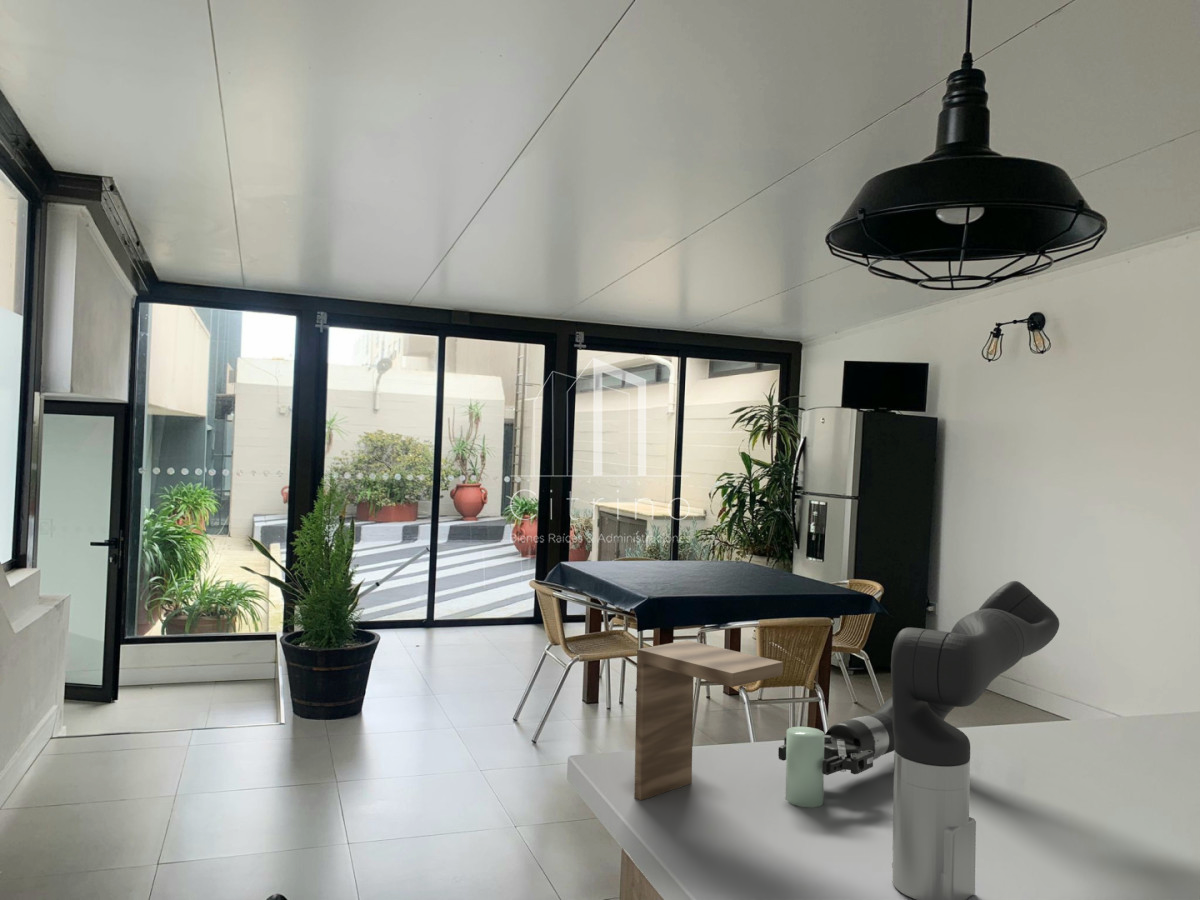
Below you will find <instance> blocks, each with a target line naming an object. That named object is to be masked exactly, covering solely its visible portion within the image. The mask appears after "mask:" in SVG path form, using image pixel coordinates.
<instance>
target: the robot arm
mask: <svg viewBox="0 0 1200 900" xmlns="http://www.w3.org/2000/svg"><path fill="white" fill-rule="evenodd" d="M1059 627H1060V620H1059V617H1058V616H1057V614H1056V613H1055V612H1054V611H1053V609H1051V608H1050V606H1048V605H1046V604H1045V602H1044V601H1042V600H1041V599H1040V598H1039V597H1038V596H1037V595H1035V594H1034V593H1033V592H1032V591H1031V589H1029V588H1028V587H1027V586H1026V585H1025V584H1023V582H1020V581H1018V580H1017V581H1016V580H1012V581H1009V582H1007V583H1005V584H1003V585H1002V586H1000V587H998V588H997V589H996V590H995V591H994V592H993V593H991V595H990V596H989V597H987V599H986V600H985V601H984V602H983V603H982V605H980V607H979V608H978V610H975V611H974V612H971V613H969V614H966V615H965V616H963V617H961V618H960V619H959V620H958V621H957V622H956V623H955V624H954V626H952V629H951V631H943V630H937V629H928V628H927V629H926V628H920V627H919V628H918V627H905V628H902V629H901V630H900V631H899V632H898V633H897V635H896V636H895V638H894V642H893V645H892V648H891V649H892V650H891V661H890V681H891V697H889V698H888V699H887V700H886V701H884V703H883V704H882V705H881V707H880V708H879V709H878V710H877V711H876V712H874V713H871V714H869V715H864V716H858V717H853V718H850V719H848V720H844V721H841V722H838V723H835V724H833V725H831V726H830V727H829V728H828V729H827V731H826V732H825V733H824V761H823V763H822V773H823V774H824V776H830V775H833V774H835V773H837V772H841V773H845V772H847V770H848V771H850V773H851V774H852V775H859V774H861V773H863V772H864V771H867V770H869V769H871V768H873V767H874V761H875V760H877V759H879V758H880V757H881V756H883V755H886V754H889V753H892V752H894V753H893V799H892V801H893V802H892V803H893V806H892V813H893V815H892V818H893V819H892V863H891V866H892V867H891V868H892V884H893V886H894V887H895V889H896V890H898V891H899V892H901V893H902V894H903V895H905V896H907V897H909V898H912V899H914V900H967V899H969V898H970V897H972V896H973V895H975V894H976V849H977V848H976V845H977V844H976V841H977V834H976V833H977V821H976V819H975V818H973V817H970V793H971V792H970V784H971V783H970V781H971V779H970V778H971V776H970V775H971V773H970V772H971V742H970V739H969V737H968V736H967V734H966V733H964V732H963V731H962V730H960V729H958V728H957V727H956V726H953V725H952V724H950V723H949V722H947V721H946V720H945V719H946V717H947V716H948V714H949V713H950V712H952V710H953V709H954V708H957V707H958V708H962V707H963V708H964V707H968V706H970V705H972V704H974V703H975V702H977V700H979V699H980V697H981V696H982V695H983V693H985V691H986V690H987V688H988V686H990V684H991V683H992V682H993V681H994V680H995V679H997V677H999V676H1000V675H1001V674H1004V673H1005V672H1007V671H1008V670H1009V669H1011V668H1012V667H1014V666H1015V665H1016V664H1017V663H1018V662H1019V661H1020V660H1022V659H1023V658H1025V657H1028V656H1031V655H1033V654H1034V653H1037V652H1040V650H1042V649H1043V648H1044V647H1046V646H1047V645H1048V644H1049V643H1051V641H1052V640H1053V639H1054V638H1055V636H1056V635H1057V633H1058V631H1059V629H1060V628H1059ZM783 737H784V738H783V741H784V743H783V745H780V746H778V754H777V755H778V760H779V761H786V739H787V735H786V736H783Z"/></svg>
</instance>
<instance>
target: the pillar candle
mask: <svg viewBox="0 0 1200 900" xmlns="http://www.w3.org/2000/svg"><path fill="white" fill-rule="evenodd" d="M824 735H825V732H824V731H822V730H821V729H819V728H815V727H810V726H792V727H789V728H787V729H786V736H787V739H786V760H785V800H787V801H788V804H791V805H792V806H796V805H797V806H796V807H799V808H800V807H802V808H817V807H820V806H823V805H824V795H825V794H824V786H825V784H824V783H825V782H824V780H825V779H824V778H825V774H823V773H822V763H823V761H824ZM787 801H786V802H787Z"/></svg>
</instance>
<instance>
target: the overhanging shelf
mask: <svg viewBox="0 0 1200 900" xmlns="http://www.w3.org/2000/svg"><path fill="white" fill-rule="evenodd" d="M783 673H784V662H783V661H780V660H776V659H771V658H767V657H763V656H758V655H754V654H749V653H746V652H741V651H736V650H733V649H728V648H724V647H720V646H719V647H718V646H714V645H710V644H706V643H701V642H697V641H692V640H688V639H687V640H682V641H675V642H670V643H664V644H658V645H653V646H648V647H643V648H642V647H641V648H637V649H636V686H635V689H636V691H635V695H636V697H635V704H636V705H635V744H634V745H635V747H634V748H635V752H634V753H635V754H634V794H633V795H634V797H633V798H634V799H636V800H639V801H643V800H646V799H648V798H652V797H654V796H658V795H661V794H663V793H667V792H671V791H672V790H675V789H679V788H682V787H685V786H688V785H691V784H692V782H693V777H692V775H693V729H694V727H693V726H694V725H693V723H694V678H697V679H701V680H704V681H708V682H712V683H715V684H719V685H723V686H727V687H730V688H734V687H738V686H742V685H746V684H750V683H755V682H759V681H764V680H767V679H772V678H776V677H780V676H783V675H784V674H783Z"/></svg>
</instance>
